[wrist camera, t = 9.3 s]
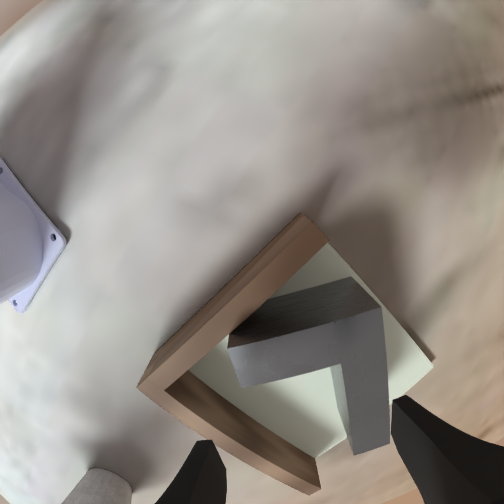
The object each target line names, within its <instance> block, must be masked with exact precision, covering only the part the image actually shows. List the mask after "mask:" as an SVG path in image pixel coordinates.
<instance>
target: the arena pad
mask: <svg viewBox="0 0 504 504" xmlns="http://www.w3.org/2000/svg"><path fill="white" fill-rule="evenodd" d="M350 276H352V277H353V278H354V279H355V280H356V281H357V282H358V283H359V284H360V285H361V286H362V287H363V288H364V289H365V290H366V292H367V293H368V294H369V295H370V296H371V297H372V298H373V299H374V300H375V301H376V302H377V303H378V304H379V305H380V306H381V307H382V315H383V324H384V334H385V344H386V356H387V370H388V387H389V406H390V405H391V404H392V400H393V399H396V398H399V397H400V396H402V395H403V394H404V393H405V392H406V391H408V390H409V389H410V388H411V387H412V386H413V385H414V384H416V383H417V382H418V381H419V380H420V379H421V378H422V377H423V376H424V375H426V374H427V373H428V372H429V371H430V370H431V369H432V368H433V367H434V366H433V364H432V363H431V362H430V361H429V359H428V358H427V357H426V356H425V354H424V353H423V352H422V351H421V349H420V348H419V347H418V346H417V344H416V343H415V342H414V341H413V339H412V338H411V337H410V336H409V335H408V333H407V332H406V331H405V330H404V329H403V327H402V326H401V325H400V324H399V323H398V321H397V320H396V319H395V318H394V317H393V315H392V314H391V313H390V312H389V311H388V309H387V308H386V307H385V306H384V305H383V304H382V302H381V301H380V300H379V299H378V298H377V297H376V295H375V294H374V293H373V292H372V291H371V290H370V289H369V287H368V286H367V285H366V284H365V283H364V282H363V281H362V279H361V278H360V277H359V276H358V275H357V274H356V273H355V272H354V270H353V269H352V268H351V267H350V266H349V265H348V264H347V263H346V262H345V260H344V259H343V258H342V257H341V256H340V255H339V254H338V253H337V252H336V251H335V249H334V248H333V247H332V246H331V245H330V244H329V243H327V244H325V245H324V246H323V247H322V248H321V249H320V250H319V251H318V252H317V253H316V254H315V255H314V256H313V257H312V258H311V259H310V260H309V261H308V262H307V263H306V264H305V265H304V266H303V267H301V268H300V269H299V270H298V271H297V272H296V273H295V274H294V275H293V276H292V277H291V278H290V279H289V280H288V281H287V282H286V283H285V284H283V285H282V286H281V287H280V288H279V289H278V290H277V291H276V292H275V293H274V294H273V295H272V296H271V297H269V298H268V299H270V298H274V297H278V296H281V295H285V294H289V293H293V292H296V291H300V290H304V289H308V288H311V287H315V286H318V285H322V284H326V283H329V282H333V281H336V280H340V279H343V278H347V277H350ZM228 338H229V335H227V336H226V337H225V338H224V339H223V340H222V341H221V342H220V343H218V344H217V345H216V346H215V347H214V348H213V349H212V350H210V351H209V352H208V353H207V354H206V355H205V356H204V357H202V358H201V359H200V360H199V361H198V362H197V363H196V364H194V365H193V366H192V367H191V368H190V369H189V371H190V372H191V373H192V374H194V375H195V376H196V377H197V378H199V379H200V380H201V381H202V382H204V383H205V384H206V385H208V386H209V387H210V388H212V389H213V390H214V391H215V392H217V393H218V394H219V395H221V396H222V397H223V398H225V399H226V400H227V401H229V402H230V403H232V404H233V405H234V406H236V407H237V408H238V409H240V410H241V411H243V412H244V413H246V414H247V415H248V416H250V417H251V418H253V419H254V420H256V421H257V422H258V423H260V424H261V425H263V426H264V427H266V428H267V429H269V430H270V431H272V432H273V433H275V434H276V435H278V436H280V437H281V438H283V439H284V440H286V441H287V442H289V443H290V444H292V445H294V446H295V447H297V448H299V449H300V450H302V451H303V452H305V453H307V454H308V455H310V456H312V457H313V458H316V457H318V456H319V455H321V454H323V453H324V452H326V451H327V450H329V449H330V448H332V447H333V446H335V445H336V444H338V443H339V442H341V441H342V440H344V439H345V438H347V434H346V431H345V429H344V426H343V423H342V420H341V417H340V414H339V411H338V409H337V403H336V397H335V391H334V386H333V380H332V375H331V369H330V367H328V368H324V369H321V370H317V371H313V372H310V373H306V374H302V375H298V376H294V377H290V378H286V379H282V380H278V381H273V382H269V383H265V384H260V385H256V386H251V387H246V388H241V386H240V383H239V381H238V378H237V375H236V372H235V370H234V367H233V364H232V361H231V358H230V356H229V353H228V350H227V345H228Z"/></svg>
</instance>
